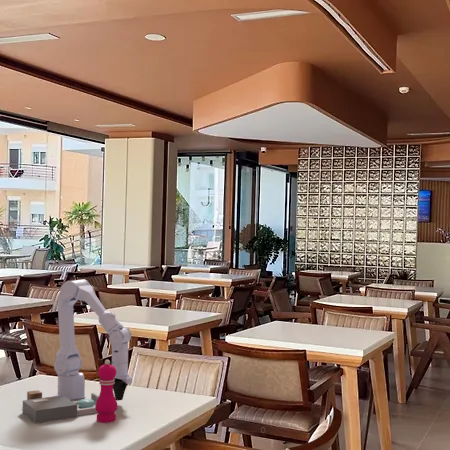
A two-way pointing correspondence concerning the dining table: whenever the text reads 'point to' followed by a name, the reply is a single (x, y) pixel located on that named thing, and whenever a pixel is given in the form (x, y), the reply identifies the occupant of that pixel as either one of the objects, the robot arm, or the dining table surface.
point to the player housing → (49, 409)
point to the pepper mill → (106, 394)
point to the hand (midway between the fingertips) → (119, 399)
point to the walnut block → (34, 395)
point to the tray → (88, 410)
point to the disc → (85, 403)
